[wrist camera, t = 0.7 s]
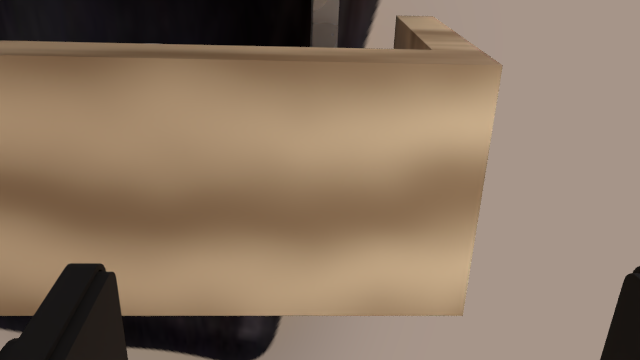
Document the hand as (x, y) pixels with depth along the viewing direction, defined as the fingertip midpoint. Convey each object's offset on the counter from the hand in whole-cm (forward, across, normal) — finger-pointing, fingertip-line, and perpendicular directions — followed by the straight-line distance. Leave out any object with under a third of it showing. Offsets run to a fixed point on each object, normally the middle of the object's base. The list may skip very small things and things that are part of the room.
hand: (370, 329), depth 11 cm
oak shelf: (+23, +4, +3) cm, 24 cm away
